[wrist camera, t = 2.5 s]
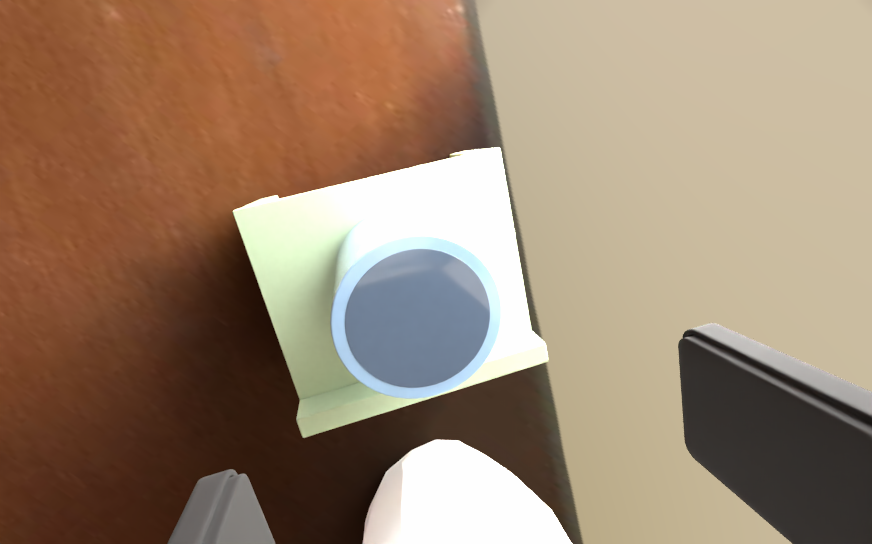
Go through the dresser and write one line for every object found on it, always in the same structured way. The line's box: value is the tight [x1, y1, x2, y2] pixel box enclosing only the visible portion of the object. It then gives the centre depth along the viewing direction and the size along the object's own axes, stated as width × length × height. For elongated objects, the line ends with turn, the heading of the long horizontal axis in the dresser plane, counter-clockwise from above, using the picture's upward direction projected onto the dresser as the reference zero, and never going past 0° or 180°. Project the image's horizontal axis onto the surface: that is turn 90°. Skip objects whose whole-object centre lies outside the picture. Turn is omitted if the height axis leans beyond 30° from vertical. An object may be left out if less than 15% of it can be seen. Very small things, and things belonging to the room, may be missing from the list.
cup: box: [330, 211, 502, 399], centre depth 20 cm, size 6×6×8 cm
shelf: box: [233, 148, 548, 438], centre depth 26 cm, size 12×14×9 cm
